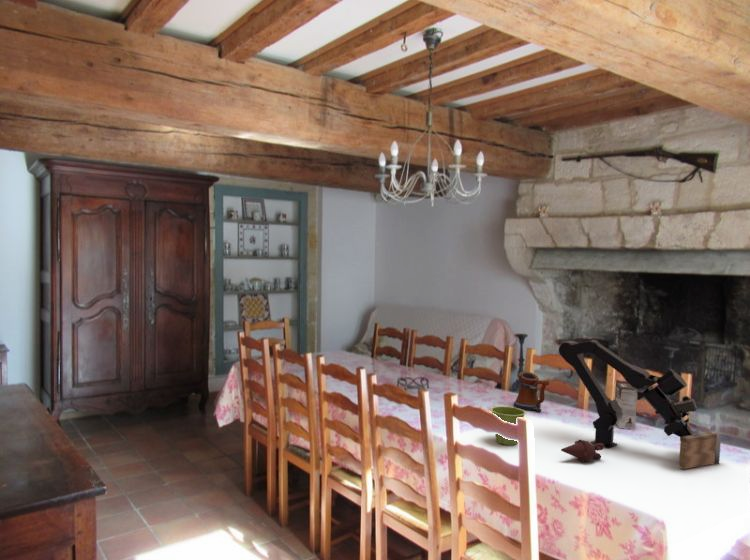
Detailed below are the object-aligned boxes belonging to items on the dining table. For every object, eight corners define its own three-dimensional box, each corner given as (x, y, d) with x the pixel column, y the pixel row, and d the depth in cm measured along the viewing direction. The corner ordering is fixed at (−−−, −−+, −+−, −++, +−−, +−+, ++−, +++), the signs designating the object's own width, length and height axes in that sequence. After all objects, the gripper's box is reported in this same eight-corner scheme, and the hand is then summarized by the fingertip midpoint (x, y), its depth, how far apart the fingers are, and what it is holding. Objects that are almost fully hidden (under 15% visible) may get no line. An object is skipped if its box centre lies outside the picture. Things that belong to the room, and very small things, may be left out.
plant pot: (531, 444, 195) (533, 412, 194) (507, 450, 188) (508, 417, 188) (506, 434, 204) (507, 404, 204) (482, 439, 198) (483, 408, 198)
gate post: (717, 464, 181) (719, 435, 180) (709, 462, 183) (711, 433, 182) (720, 463, 182) (722, 434, 182) (712, 461, 184) (714, 432, 184)
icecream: (570, 447, 174) (612, 449, 178) (558, 433, 181) (599, 435, 185) (564, 466, 176) (606, 467, 180) (553, 452, 183) (593, 454, 187)
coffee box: (613, 421, 226) (615, 382, 225) (630, 423, 224) (632, 383, 224) (618, 428, 217) (620, 387, 216) (636, 430, 215) (638, 388, 215)
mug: (557, 414, 234) (559, 378, 233) (535, 416, 229) (537, 380, 228) (529, 403, 250) (530, 369, 250) (507, 405, 246) (509, 371, 245)
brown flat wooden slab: (708, 460, 183) (710, 432, 182) (715, 463, 181) (717, 434, 180) (678, 466, 177) (680, 436, 176) (684, 469, 175) (686, 439, 174)
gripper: (678, 394, 174) (717, 437, 169) (684, 384, 190) (719, 423, 185) (648, 414, 179) (685, 456, 174) (656, 402, 195) (690, 441, 189)
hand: (696, 443), depth 180 cm, fingers closed
